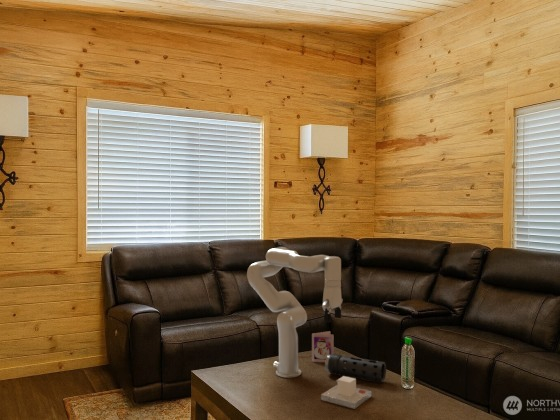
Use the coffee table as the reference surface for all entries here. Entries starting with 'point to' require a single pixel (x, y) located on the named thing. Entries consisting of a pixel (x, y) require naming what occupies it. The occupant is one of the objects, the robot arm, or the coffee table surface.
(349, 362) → the muzzle brake
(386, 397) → the coffee table surface
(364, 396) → the socket
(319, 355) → the greeting card
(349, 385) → the plug
